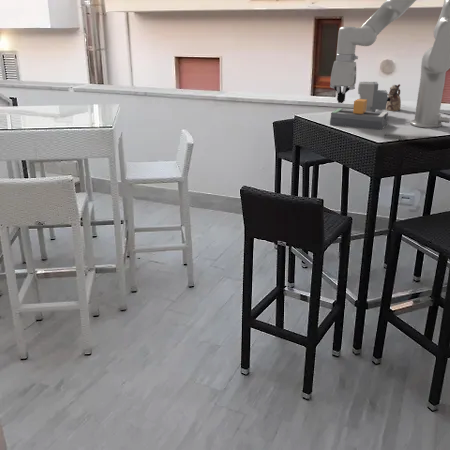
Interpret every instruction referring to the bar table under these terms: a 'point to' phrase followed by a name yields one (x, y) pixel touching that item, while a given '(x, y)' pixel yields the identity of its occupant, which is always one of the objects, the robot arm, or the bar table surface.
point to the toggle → (360, 106)
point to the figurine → (394, 99)
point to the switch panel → (358, 123)
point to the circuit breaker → (373, 96)
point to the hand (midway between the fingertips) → (340, 102)
